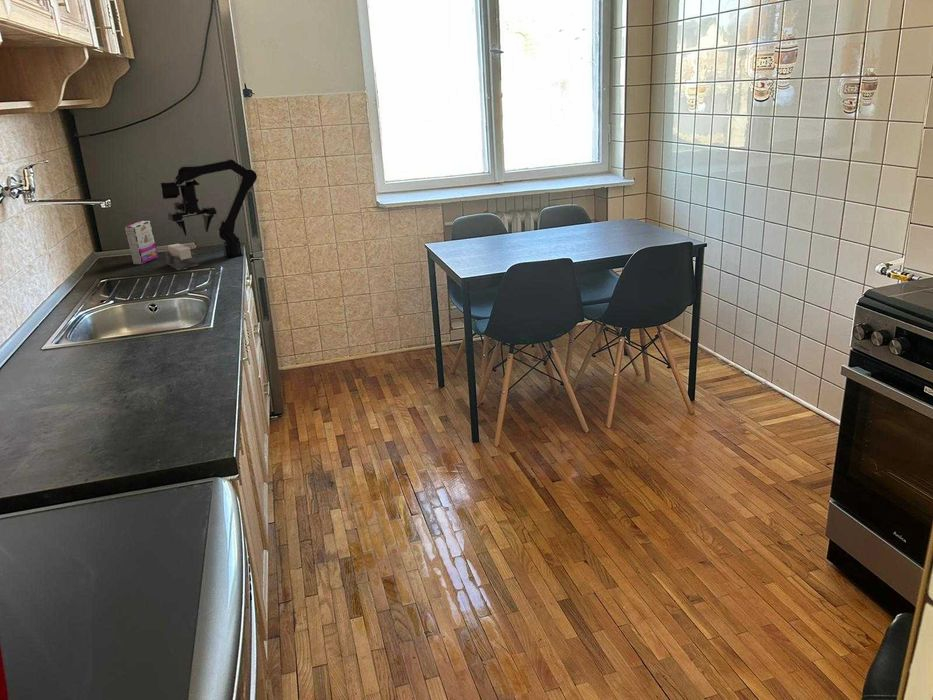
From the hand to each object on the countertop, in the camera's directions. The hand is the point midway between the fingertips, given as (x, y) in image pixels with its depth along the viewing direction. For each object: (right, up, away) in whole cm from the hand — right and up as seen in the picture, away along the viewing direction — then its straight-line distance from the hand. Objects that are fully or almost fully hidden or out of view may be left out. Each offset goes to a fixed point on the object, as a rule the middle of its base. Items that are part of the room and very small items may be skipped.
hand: (196, 233), depth 300 cm
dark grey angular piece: (-5, -14, -2) cm, 15 cm away
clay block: (-5, -10, -4) cm, 12 cm away
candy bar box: (-24, -11, +7) cm, 27 cm away
